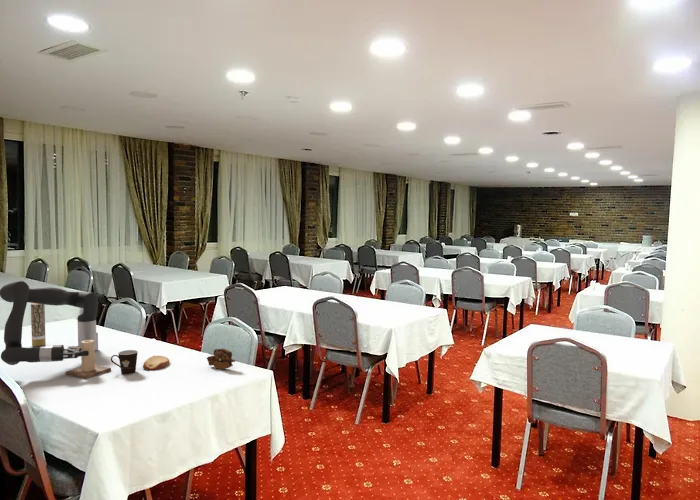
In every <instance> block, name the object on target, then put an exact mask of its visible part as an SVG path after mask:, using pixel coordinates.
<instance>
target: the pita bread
mask: <svg viewBox="0 0 700 500" xmlns="http://www.w3.org/2000/svg"><path fill="white" fill-rule="evenodd" d="M169 365H170V359H169V358H168V357H167V356H163V355H152V356H150V357H148V358H147V359H146V360H145V361H144V363H143V365H142V368H143V369H144V370H145V371H148V372H152V371H158V370H160V369H161V370H162V369H164V368H166V367H168V366H169Z"/></svg>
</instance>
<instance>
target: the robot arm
mask: <svg viewBox="0 0 700 500" xmlns="http://www.w3.org/2000/svg"><path fill="white" fill-rule="evenodd" d="M0 298H1V299H2V300H3V301H4V302H6V303H7V302H8V303H12V307H11V311H10V314H9V316H8V318H7V320H6V322H5V324H4V330H3V331H4V333H3V342H4V344H5V349H4V350H2V351H1V352H0V353H1V354H0V359H1V361H2V362H4V363H5V364H7V365H10V366H15V365H17V364H19V363H21V362H25V363H50V362H51V363H52V362H61V361H64V360H66V359H67V360H68V359H69V360H70V359H77V358H79V357H81V356H88V355H89V351H81V342H82V341H85V340H94V352H95V351H97V350H98V349H99V332H98V331H97V316H98V308H99V306H98V305H99V304H98V303H99V302H98V301H99V300H98V295H97V294H96V293H95V292H90V291H68V290H65V289H63V288H59V287H51V286H41V287H39V286H38V287H30V286H29V285H28V283H27V282H26V281H24V280H16V281H12V282H9V283H8V284H4V285H3V286H2V287H1V288H0ZM28 303H30V304H31V303H37V304H45V306H55V307H57V306H70V307H71V306H72V307H75V308H79V309H82V310H83V311H82V313H81V314H79V315H77V319H76V320H77V345H73V346H67V348H65V347H64V345H63V344H57V345H56V344H55V345H54V344H53V345H43V346H33V347H23V345H22V344H23V343H22V335H23V323H24V316H25V313H26V308H27V304H28Z"/></svg>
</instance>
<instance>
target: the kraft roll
mask: <svg viewBox="0 0 700 500" xmlns="http://www.w3.org/2000/svg"><path fill="white" fill-rule="evenodd" d="M81 351H89V355H88V356H80V357H81V367H82V371H85V372H86V371H92V370H94V369H95V365H96V362H95V361H96V360H95V357H96V356H95V351H94V340H85V341H82V342H81Z"/></svg>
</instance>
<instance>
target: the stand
mask: <svg viewBox="0 0 700 500" xmlns="http://www.w3.org/2000/svg"><path fill="white" fill-rule="evenodd" d="M111 371H112V367H108V366H104V365H98V364H95V369H94V370H92V371H86V372H85V371H82V366H80V367H76V368H73V369H69V370H65V375H66V376H70V377H74V378H75V377H76V378H79V379H84V380H86V379H89V378H93V377H96V376H99V374H100V375H102V374H105V373H108V372H109V373H110V372H111Z"/></svg>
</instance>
